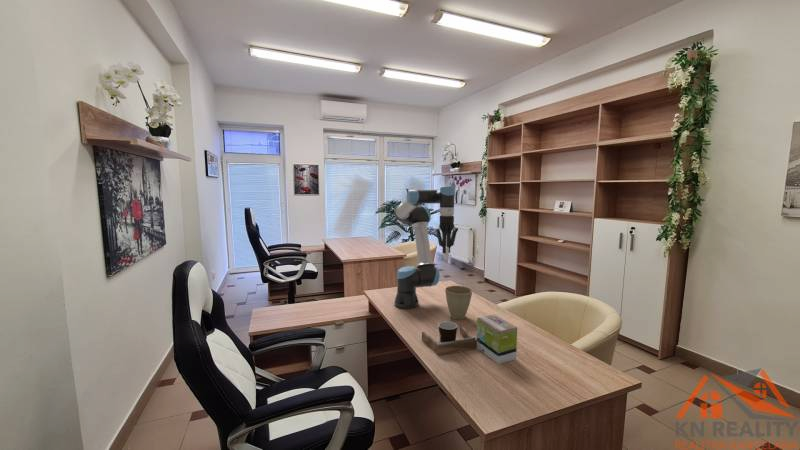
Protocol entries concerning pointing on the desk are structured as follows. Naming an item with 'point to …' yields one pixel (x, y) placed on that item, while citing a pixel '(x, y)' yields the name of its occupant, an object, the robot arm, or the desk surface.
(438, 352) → the organizer
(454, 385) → the desk surface
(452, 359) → the desk surface
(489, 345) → the tea box
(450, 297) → the plant pot
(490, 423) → the desk surface
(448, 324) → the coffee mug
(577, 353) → the desk surface
